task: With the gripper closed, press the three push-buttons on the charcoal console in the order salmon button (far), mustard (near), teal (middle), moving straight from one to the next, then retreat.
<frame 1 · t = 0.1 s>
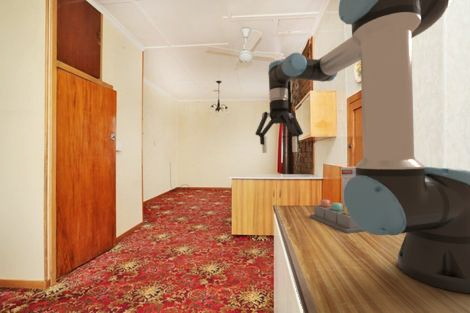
hand: (280, 152, 94), 28 cm above the kitchen counter, fingers open, 13 cm apart
salmon button: (325, 205, 95), point 5 cm above the kitchen counter, slide at 0.0 cm
console: (337, 222, 88), on the kitchen counter
mustard button: (350, 213, 82), point 5 cm above the kitchen counter, slide at 0.0 cm
cracker box: (360, 214, 100), on the kitchen counter
teal button: (337, 209, 88), point 5 cm above the kitchen counter, slide at 0.0 cm
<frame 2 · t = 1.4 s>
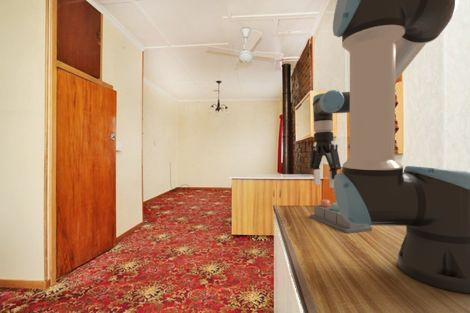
hand: (324, 185, 95), 14 cm above the kitchen counter, fingers open, 9 cm apart
nothing on the kitchen counter moved.
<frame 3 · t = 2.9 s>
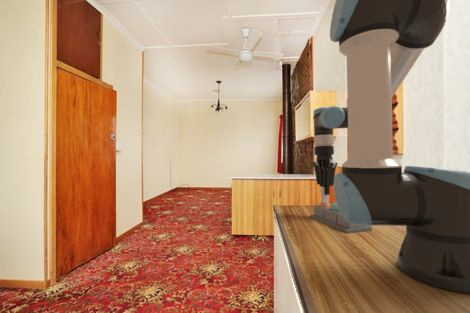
hand: (325, 202, 95), 7 cm above the kitchen counter, fingers closed
salmon button: (325, 207, 95), point 4 cm above the kitchen counter, slide at 1.0 cm, touching gripper
everything else where it was.
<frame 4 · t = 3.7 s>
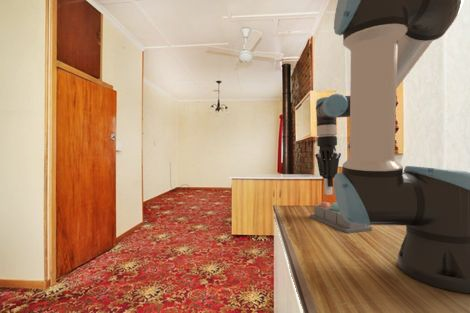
hand: (328, 194, 93), 10 cm above the kitchen counter, fingers closed
salmon button: (325, 207, 95), point 4 cm above the kitchen counter, slide at 1.0 cm
everything else where it was.
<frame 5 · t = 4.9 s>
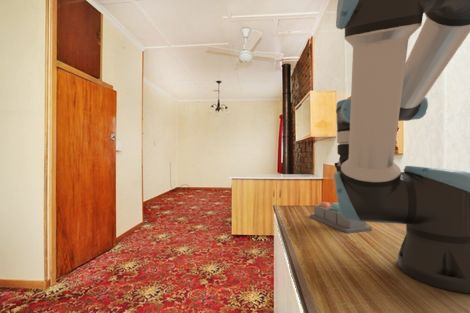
hand: (350, 209, 82), 7 cm above the kitchen counter, fingers closed
mustard button: (350, 216, 82), point 4 cm above the kitchen counter, slide at 1.0 cm, touching gripper
everything else where it was.
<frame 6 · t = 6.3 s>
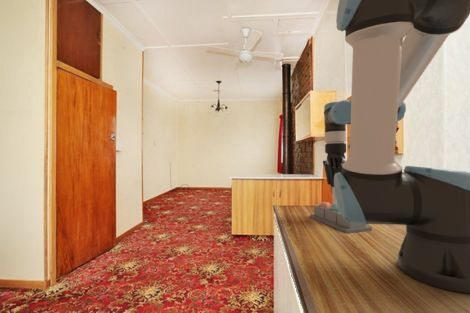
hand: (336, 203, 89), 7 cm above the kitchen counter, fingers closed
mustard button: (350, 216, 82), point 4 cm above the kitchen counter, slide at 1.1 cm
teal button: (337, 210, 88), point 5 cm above the kitchen counter, slide at 0.4 cm, touching gripper
everything else where it was.
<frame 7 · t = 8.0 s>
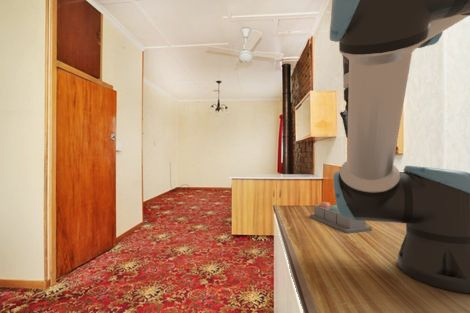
hand: (358, 158, 75), 25 cm above the kitchen counter, fingers closed
teal button: (337, 211, 88), point 4 cm above the kitchen counter, slide at 1.1 cm
everything else where it was.
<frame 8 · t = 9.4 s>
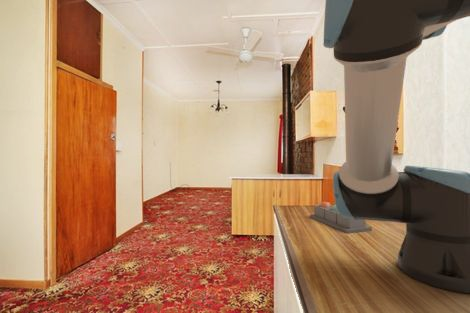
hand: (361, 154, 74), 26 cm above the kitchen counter, fingers closed
nothing on the kitchen counter moved.
at the end: salmon button slide at 1.0 cm; mustard button slide at 1.1 cm; teal button slide at 1.1 cm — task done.
